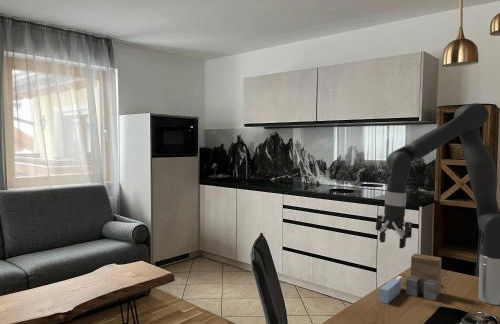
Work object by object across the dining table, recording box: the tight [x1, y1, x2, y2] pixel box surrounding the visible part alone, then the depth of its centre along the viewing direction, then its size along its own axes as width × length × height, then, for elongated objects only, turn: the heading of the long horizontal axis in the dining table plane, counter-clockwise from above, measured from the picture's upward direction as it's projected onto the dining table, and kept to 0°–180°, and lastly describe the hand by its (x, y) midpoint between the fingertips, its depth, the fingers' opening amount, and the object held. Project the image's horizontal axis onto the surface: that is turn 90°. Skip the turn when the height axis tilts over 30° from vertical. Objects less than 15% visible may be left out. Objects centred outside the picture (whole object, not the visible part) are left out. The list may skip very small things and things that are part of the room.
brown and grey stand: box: [405, 253, 442, 302], centre depth 152 cm, size 10×11×14 cm
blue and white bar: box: [379, 275, 403, 304], centre depth 150 cm, size 19×3×5 cm, turn 141°
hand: (391, 245), depth 149 cm, fingers open, 8 cm apart
